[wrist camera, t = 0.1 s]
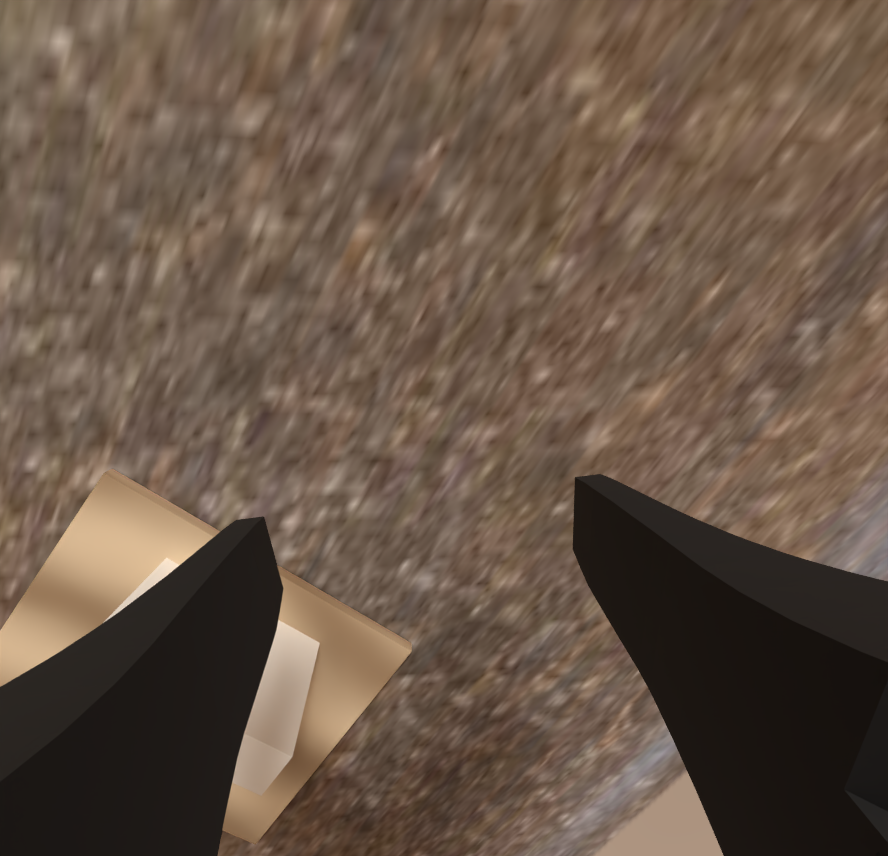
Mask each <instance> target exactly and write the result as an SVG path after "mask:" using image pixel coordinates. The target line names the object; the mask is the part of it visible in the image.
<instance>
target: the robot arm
mask: <svg viewBox="0 0 888 856" xmlns="http://www.w3.org/2000/svg"><path fill="white" fill-rule="evenodd" d="M573 551H574V553H575V556H576V558H577V560H578V563H579V565H580V568H581V570H582V572H583V575H584V577H585V579H586V581H587V584H588V586H589V588H590V589H591V591H592V593H593V595H594V596H595V598H596V600H597V601H598V603H599V605H600V607H601V608H602V610H603V612H604V613H605V615H606V617H607V618H608V620H609V622H610V623H611V625H612V627H613V628H614V630H615V632H616V633H617V635H618V637H619V638H620V640H621V642H622V643H623V645H624V647H625V648H626V650H627V652H628V653H629V655H630V657H631V658H632V660H633V662H634V663H635V665H636V667H637V668H638V670H639V672H640V674H641V675H642V677H643V679H644V681H645V683H646V685H647V686H648V688H649V690H650V692H651V694H652V696H653V698H654V700H655V702H656V704H657V707H658V709H659V711H660V713H661V715H662V717H663V719H664V721H665V723H666V725H667V728H668V730H669V732H670V734H671V736H672V738H673V740H674V742H675V745H676V747H677V749H678V751H679V754H680V756H681V758H682V760H683V762H684V765H685V767H686V769H687V771H688V774H689V776H690V778H691V780H692V782H693V784H694V787H695V789H696V791H697V794H698V796H699V798H700V801H701V803H702V805H703V808H704V810H705V812H706V815H707V817H708V820H709V822H710V824H711V826H712V829H713V831H714V834H715V836H716V838H717V841H718V843H719V845H720V848H721V850H722V853H723V855H724V856H888V582H887V581H883V580H879V579H875V578H871V577H867V576H863V575H859V574H855V573H851V572H847V571H844V570H840V569H837V568H833V567H830V566H826V565H823V564H819V563H816V562H812V561H808V560H805V559H802V558H799V557H795V556H792V555H789V554H786V553H783V552H780V551H777V550H774V549H771V548H769V547H766V546H763V545H760V544H757V543H754V542H751V541H749V540H746V539H743V538H741V537H738V536H735V535H733V534H730V533H728V532H725V531H723V530H721V529H718V528H716V527H713V526H711V525H709V524H706V523H704V522H702V521H699V520H697V519H695V518H693V517H690V516H688V515H686V514H684V513H682V512H679V511H677V510H675V509H673V508H671V507H669V506H667V505H665V504H663V503H661V502H659V501H656V500H654V499H652V498H650V497H648V496H646V495H644V494H642V493H640V492H638V491H636V490H634V489H632V488H630V487H628V486H626V485H624V484H622V483H620V482H618V481H616V480H613V479H611V478H609V477H606V476H604V475H601V474H598V475H590V476H582V477H575V495H574V527H573ZM283 589H284V588H283V585H282V581H281V577H280V574H279V570H278V566H277V563H276V559H275V555H274V552H273V548H272V544H271V541H270V537H269V533H268V530H267V526H266V522H265V519H264V517H257V518H249V519H241V520H236V521H234V522H233V523H231V524H230V525H229V526H227V527H226V528H225V529H223V530H222V531H221V532H220V533H218V534H217V535H216V536H215V537H213V538H212V539H211V540H210V541H208V542H207V543H206V544H205V545H204V546H202V547H201V548H200V549H199V550H197V551H196V552H195V553H194V554H193V555H191V556H190V557H189V558H188V559H186V560H185V561H184V562H183V563H182V564H180V565H179V566H178V567H177V568H175V569H174V570H173V571H172V572H171V573H169V574H168V575H167V576H166V577H164V578H163V579H162V580H160V581H159V582H158V583H156V584H155V585H154V586H152V587H151V588H150V589H149V590H147V591H146V592H145V593H143V594H142V595H141V596H139V597H138V598H137V599H135V600H134V601H133V602H131V603H130V604H129V605H127V606H126V607H125V608H123V609H122V610H121V611H119V612H118V613H117V614H115V615H114V616H112V617H111V618H110V619H108V620H107V621H105V622H104V623H102V624H101V625H100V626H98V627H97V628H95V629H94V630H92V631H91V632H89V633H88V634H86V635H85V636H83V637H82V638H80V639H78V640H77V641H75V642H74V643H72V644H71V645H69V646H68V647H66V648H65V649H63V650H62V651H60V652H58V653H57V654H55V655H54V656H52V657H50V658H49V659H47V660H45V661H44V662H42V663H40V664H39V665H37V666H35V667H33V668H32V669H30V670H28V671H27V672H25V673H23V674H21V675H20V676H18V677H16V678H15V679H13V680H11V681H9V682H8V683H6V684H4V685H3V686H1V687H0V856H217V855H218V850H219V844H220V839H221V834H222V829H223V824H224V819H225V814H226V809H227V804H228V800H229V795H230V790H231V786H232V781H233V776H234V772H235V767H236V762H237V758H238V754H239V751H240V747H241V743H242V740H243V736H244V732H245V729H246V726H247V723H248V720H249V717H250V713H251V710H252V707H253V704H254V701H255V698H256V694H257V691H258V688H259V685H260V682H261V679H262V676H263V672H264V669H265V666H266V663H267V660H268V656H269V653H270V650H271V647H272V643H273V640H274V637H275V633H276V630H277V624H278V619H279V614H280V608H281V601H282V595H283Z"/></svg>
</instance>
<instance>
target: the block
mask: <svg viewBox="0 0 888 856" xmlns="http://www.w3.org/2000/svg"><path fill="white" fill-rule="evenodd" d="M178 566H179V564H177V563H175V562H173V561H171V560H170V559H168V558H166V559H165V560H164V561H163V562H162V563H161V564H160V565H159V566H158V567H157V568H156V569H155V570H154V571H153V572H152V573H151V574H150V575H149V576H148V577H147V578H146V579H145V580H144V581H143V582H142V583H141V584H140V585H139V586H138V588H137V589H136V590H135V591H134V592H133V593H132V594H131V595H130V596H129V597H128V598H127V599H126V600H125V601H124V602H123V603H122V604H121V605H120V606H119V607H118V608H117V609H116V610H115V611H114V612H113V613H112V614H111V615H110V616H109V617H108V618H107V619H106V620H105V621H107V620H108V619H110V618H111V617H112V616H114V615H115V614H117V613H118V612H119V611H121V610H122V609H123V608H125V607H126V606H127V605H129V604H130V603H131V602H133V601H134V600H135V599H137V598H138V597H139V596H141V595H142V594H143V593H145V592H146V591H147V590H149V589H150V588H151V587H152V586H154V585H155V584H156V583H158V582H159V581H160V580H162V579H163V578H164V577H166V576H167V575H168V574H169V573H171V572H172V571H173V570H174V569H175V568H177V567H178ZM105 621H104V622H105ZM104 622H103V623H104ZM319 644H320V643H319V642H317V641H316V640H314V639H312V638H310V637H308V636H307V635H305V634H303V633H301V632H299V631H298V630H296V629H294V628H292V627H290V626H289V625H287V624H285V623H283V622H281V621H280V620H278V624H277V630H276V633H275V637H274V640H273V643H272V647H271V650H270V653H269V656H268V660H267V663H266V666H265V669H264V672H263V676H262V679H261V682H260V685H259V688H258V691H257V694H256V698H255V701H254V704H253V707H252V710H251V713H250V717H249V720H248V723H247V726H246V729H245V732H244V736H243V740H242V743H241V747H240V751H239V754H238V758H237V762H236V767H235V772H234V776H233V781H232V783H234V784H236V785H239V786H241V787H243V788H245V789H247V790H250V791H252V792H254V793H256V794H258V795H260V796H262V794H263V793H264V792H265V791H266V789H267V788H268V787H269V786H270V784H271V783H272V782H273V781H274V779H275V778H276V777H277V776H278V774H279V773H280V772H281V771H282V769H283V768H284V767H285V766H286V764H287V763H288V762H289V760H290V759H291V758H292V757H293V752H294V748H295V744H296V740H297V736H298V732H299V727H300V723H301V719H302V715H303V711H304V707H305V702H306V698H307V694H308V690H309V686H310V682H311V677H312V673H313V669H314V665H315V661H316V657H317V652H318V648H319Z"/></svg>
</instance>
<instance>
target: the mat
mask: <svg viewBox="0 0 888 856" xmlns="http://www.w3.org/2000/svg"><path fill="white" fill-rule="evenodd" d="M218 533H220V531H218V530H217V529H215V528H213V527H211V526H210V525H208V524H206V523H205V522H203V521H201V520H199V519H198V518H196V517H194V516H193V515H191V514H189V513H187V512H186V511H184V510H182V509H181V508H179V507H177V506H175V505H174V504H172V503H170V502H169V501H167V500H165V499H164V498H162V497H160V496H158V495H157V494H155V493H153V492H152V491H150V490H148V489H146V488H145V487H143V486H141V485H140V484H138V483H136V482H134V481H133V480H131V479H129V478H128V477H126V476H124V475H122V474H121V473H119V472H117V471H116V470H114V469H111V470H109V471H107V472H105V473H104V474H103V475H102V477H101V478H100V480H99V481H98V483H97V484H96V486H95V488H94V489H93V491H92V492H91V494H90V495H89V497H88V498H87V500H86V501H85V503H84V504H83V506H82V507H81V509H80V510H79V512H78V513H77V515H76V516H75V518H74V520H73V521H72V523H71V524H70V526H69V527H68V529H67V530H66V532H65V533H64V535H63V536H62V538H61V539H60V541H59V542H58V544H57V545H56V547H55V548H54V550H53V551H52V553H51V555H50V556H49V558H48V559H47V561H46V562H45V564H44V565H43V567H42V568H41V570H40V571H39V573H38V574H37V576H36V577H35V579H34V580H33V582H32V583H31V585H30V587H29V588H28V590H27V591H26V593H25V594H24V596H23V597H22V599H21V600H20V602H19V603H18V605H17V606H16V608H15V609H14V611H13V612H12V614H11V615H10V617H9V618H8V620H7V622H6V623H5V625H4V626H3V628H2V629H1V631H0V687H1V686H3V685H4V684H6V683H8V682H9V681H11V680H13V679H15V678H16V677H18V676H20V675H21V674H23V673H25V672H27V671H28V670H30V669H32V668H33V667H35V666H37V665H39V664H40V663H42V662H44V661H45V660H47V659H49V658H50V657H52V656H54V655H55V654H57V653H58V652H60V651H62V650H63V649H65V648H66V647H68V646H69V645H71V644H72V643H74V642H75V641H77V640H78V639H80V638H82V637H83V636H85V635H86V634H88V633H89V632H91V631H92V630H94V629H95V628H97V627H98V626H100V625H101V624H102V623H103V622H104V621H105V620H106V619H107V618H108V617H109V616H110V615H111V614H112V613H113V612H114V611H115V610H116V609H117V608H118V607H119V606H120V605H121V604H122V603H123V602H124V601H125V600H126V599H127V598H128V597H129V596H130V595H131V594H132V593H133V592H134V591H135V590H136V589H137V588H138V586H139V585H140V584H141V583H142V582H143V581H144V580H145V579H146V578H147V577H148V576H149V575H150V574H151V573H152V572H153V571H154V570H155V569H156V568H157V567H158V566H159V565H160V564H161V563H162V562H163V561H164V560H165V559H166V558H168V559H170V560H171V561H173V562H175V563H177V564H179V565H180V564H182V563H183V562H184V561H185V560H186V559H188V558H189V557H190V556H191V555H193V554H194V553H195V552H196V551H197V550H199V549H200V548H201V547H202V546H204V545H205V544H206V543H207V542H208V541H210V540H211V539H212V538H213V537H215V536H216V535H217V534H218ZM277 566H278V565H277ZM278 570H279V574H280V577H281V581H282V585H283V588H284V589H283V595H282V601H281V608H280V614H279V619H278V620H280V621H281V622H283V623H285V624H287V625H289V626H290V627H292V628H294V629H296V630H298V631H299V632H301V633H303V634H305V635H307V636H308V637H310V638H312V639H314V640H316V641H317V642H319V643H320V644H319V648H318V652H317V657H316V661H315V665H314V669H313V673H312V677H311V682H310V686H309V690H308V694H307V698H306V702H305V707H304V711H303V715H302V719H301V723H300V727H299V732H298V736H297V740H296V744H295V748H294V752H293V757H292V758H291V759H290V760H289V762H288V763H287V764H286V766H285V767H284V768H283V769H282V771H281V772H280V773H279V774H278V776H277V777H276V778H275V779H274V781H273V782H272V783H271V784H270V786H269V787H268V788H267V789H266V791H265V792H264V793H263V794H262V796H260V795H258V794H256V793H254V792H252V791H250V790H247V789H245V788H243V787H241V786H239V785H236V784H234V783H232V786H231V790H230V795H229V800H228V804H227V809H226V814H225V819H224V824H223V829H222V830H223V831H225V832H227V833H230V834H232V835H234V836H237V837H239V838H241V839H244V840H246V841H248V842H251V843H253V844H256V843H257V842H258V841H259V840H260V838H261V837H262V836H263V835H264V833H265V832H266V831H267V830H268V828H269V827H270V826H271V825H272V823H273V822H274V821H275V820H276V819H277V817H278V816H279V815H280V814H281V812H282V811H283V810H284V809H285V807H286V806H287V805H288V804H289V802H290V801H291V800H292V799H293V798H294V796H295V795H296V794H297V793H298V791H299V790H300V789H301V788H302V786H303V785H304V784H305V783H306V781H307V780H308V779H309V778H310V777H311V775H312V774H313V773H314V772H315V770H316V769H317V768H318V767H319V765H320V764H321V763H322V762H323V760H324V759H325V758H326V757H327V756H328V754H329V753H330V752H331V751H332V749H333V748H334V747H335V746H336V744H337V743H338V742H339V741H340V739H341V738H342V737H343V736H344V734H345V733H346V732H347V731H348V730H349V728H350V727H351V726H352V725H353V723H354V722H355V721H356V720H357V718H358V717H359V716H360V715H361V713H362V712H363V711H364V710H365V709H366V707H367V706H368V705H369V704H370V702H371V701H372V700H373V699H374V697H375V696H376V695H377V694H378V692H379V691H380V690H381V689H382V688H383V686H384V685H385V684H386V683H387V681H388V680H389V679H390V678H391V676H392V675H393V674H394V673H395V671H396V670H397V669H398V668H399V667H400V665H401V664H402V663H403V662H404V660H405V659H406V658H407V657H408V655H409V654H410V653H411V652H412V645H411V643H410V642H409V641H407V640H405V639H403V638H402V637H400V636H398V635H397V634H395V633H393V632H391V631H390V630H388V629H386V628H385V627H383V626H381V625H379V624H378V623H376V622H374V621H373V620H371V619H369V618H367V617H366V616H364V615H362V614H361V613H359V612H357V611H355V610H354V609H352V608H350V607H349V606H347V605H345V604H343V603H342V602H340V601H338V600H337V599H335V598H333V597H331V596H330V595H328V594H326V593H325V592H323V591H321V590H319V589H318V588H316V587H314V586H313V585H311V584H309V583H307V582H306V581H304V580H302V579H301V578H299V577H297V576H295V575H294V574H292V573H290V572H289V571H287V570H285V569H283V568H282V567H280V566H278Z"/></svg>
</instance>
